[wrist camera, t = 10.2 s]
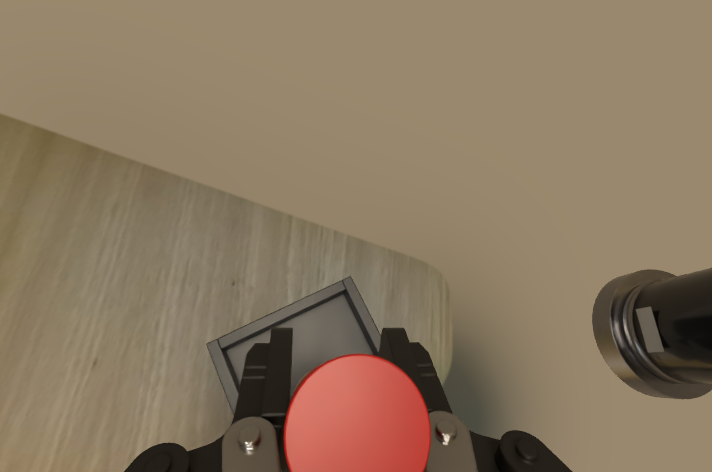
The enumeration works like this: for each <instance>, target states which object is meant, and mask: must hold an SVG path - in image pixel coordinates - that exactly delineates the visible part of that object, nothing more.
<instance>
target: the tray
mask: <svg viewBox="0 0 712 472" xmlns="http://www.w3.org/2000/svg"><path fill="white" fill-rule="evenodd" d="M272 328H293V341H292V375H291V395H290V400H291V398H292V395H293V393H294V391H295V388H296V386H297V384H298V382H299V381H300V379H301V378H302V377H303V376H304V375H305V374H306V373H308V372H309V371H311V370H312V369H314V368H315V367H317V366H318V365H320V364H322V363H324V362H326V361H328V360H331V359H333V358H336V357H339V356H343V355H348V354H369V355H374V356H378V354H379V347H380V341H381V335H380V333H379V331H378V329H377V327H376V325H375V323H374V321H373V319H372V317H371V315H370V313H369V311H368V309H367V307H366V305H365V303H364V301H363V299H362V297H361V295H360V293H359V291H358V289H357V287H356V285H355V284H354V282H353V280H352V278H351V276H350V277H348V278H345V279H343V280H342V281H339V282H337V283H335V284H333V285H331V286H328V287H326V288H324V289H322V290H320V291H318V292H316V293H314V294H311V295H309V296H307V297H305V298H303V299H301V300H299V301H297V302H294V303H292V304H290V305H288V306H286V307H284V308H282V309H280V310H277V311H275V312H273V313H271V314H269V315H267V316H265V317H263V318H260V319H258V320H256V321H254V322H252V323H250V324H248V325H245V326H243V327H241V328H239V329H237V330H235V331H233V332H231V333H228V334H226V335H224V336H222V337H220V338H218V339H216V340H214V341H211V342H209V343H207V344H206V345H207V347H208V350H209V353H210V355H211V358H212V360H213V363H214V365H215V368H216V371H217V373H218V376H219V378H220V381H221V384H222V386H223V389H224V391H225V394H226V396H227V399H228V402H229V404H230V407H231V409H232V412H233V415H234V414H235V409H236V404H237V399H238V394H239V389H240V384H241V380H242V374H243V369H244V364H245V359H246V354H247V353H248V352H249V350H250V349H251V348H252V346H253V345H254V344H255V343H270V336H271V329H272ZM281 472H290V471H289V468H288V465H287V471H281Z"/></svg>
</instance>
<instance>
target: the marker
mask: <svg viewBox="0 0 712 472" xmlns="http://www.w3.org/2000/svg"><path fill="white" fill-rule="evenodd" d="M283 441H284V452H285V457H286V462H287V465H288V468H289V471H290V472H424V469H425V467H426V464H427V460H428V457H429V452H430V445H431V426H430V419H429V414H428V410H427V407H426V404H425V401H424V399H423V397H422V395H421V393H420V391H419V389H418V388H417V386H416V385H415V383H414V382H413V381H412V379H411V378H410V377H409V376H408V375H407V374H406V373H405V372H404V371H403V370H402V369H400V368H399V367H398V366H396V365H395V364H393V363H391V362H390V361H388V360H386V359H383V358H381V357H378V356H374V355H369V354H348V355H343V356H339V357H336V358H333V359H331V360H328V361H326V362H324V363H322V364H320V365H318V366H317V367H315V368H314V369H312V370H311V371H309V372H308V373H306V374H305V375H304V376H303V377H302V378H301V379H300V381H299V382H298V384H297V386H296V388H295V391H294V393H293V395H292V398H291V400H290V403H289V406H288V410H287V414H286V419H285V425H284V437H283Z"/></svg>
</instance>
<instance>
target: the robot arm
mask: <svg viewBox="0 0 712 472" xmlns="http://www.w3.org/2000/svg"><path fill="white" fill-rule="evenodd" d="M623 326H624V331H625V335H626V338H627V340H628V343H629V345H630V347H631V349H632V351H633V352H634V354H635V355H636V357H637V358H638V359H639V361H640V362H641V363H642V364H643V365H644V366H645V367H646V368H647V369H648V370H649V371H651V372H652V373H653V374H655V375H656V376H658V377H660V378H662V379H663V380H666V381H669V382H672V383H677V384H701V383H703V384H712V268H710V269H706V270H702V271H697V272H694V273H690V274H685V275H681V276H677V277H673V278H669V279H665V280H656V281H652V282H648V283H645V284H642V285H640V286H638V287H637V288H635V289H634V290H633V291H632V292H631V293H630V295H629V296H628V298H627V300H626V302H625V305H624V310H623ZM292 341H293V328H272V329H271V336H270V343H255V344H254V345H253V346H252V348H251V349H250V350H249V352H248V353H247V354H246V359H245V364H244V369H243V374H242V380H241V384H240V389H239V394H238V399H237V404H236V409H235V414H234V418H233V422H232V424H231V426H230V427H229V428H228V430H227V431H226V432H225V434H224V435H223V436H222V437H220V438H219V439H218V440H216V441H215V442H213V443H211V444H208V445H206V446H203V447H200V448H197V449H194V450H191V451H188V452H187V451H186V449H185V448H184V447H182V446H181V445H179V444H175V443H162V444H158V445H155V446H153V447H151V448H148V449H147V450H145V451H144V452H142V453H141V454H140V455H139V456H138V457H137V458H136V459H135V460H134V461H133V462H132V463H131V464H130V465H129V467H128V468H127V469H126V470H125V471H124V472H281V471H287V462H286V457H285V452H284V441H283V437H284V425H285V419H286V414H287V410H288V406H289V403H290V395H291V375H292ZM378 357H381V358H383V359H386V360H388V361H390V362H391V363H393V364H395V365H396V366H398V367H399V368H400V369H402V370H403V371H404V372H405V373H406V374H407V375H408V376H409V377H410V378H411V379H412V381H413V382H414V383H415V385H416V386H417V388H418V389H419V391H420V393H421V395H422V397H423V399H424V401H425V404H426V407H427V410H428V414H429V419H430V426H431V445H430V452H429V457H428V460H427V464H426V467H425V469H424V472H572V471H571V470H570V469H569V468H568V467H567V466H566V465H565V464H564V463H563V462H562V461H561V460H560V459H559V458H558V457H557V456H556V455H554V454H553V453H552V452H551V451H550V450H549V449H548V448H547V447H546V446H545V445H544V444H543V443H542V442H541V441H540V440H539V439H537V438H536V437H534V436H532V435H530V434H528V433H526V432H523V431H517V430H515V431H514V430H513V431H509V432H506V433H505V434H504V435H503V436H502V437H501V440H497V439H493V438H490V437H486V436H482V435H479V434H476V433H474V432H471V431H470V430H468V428H467V426H466V425H465V423H464V422H463V421H462V420H461V419H459V418H458V417H457V416H455V415H453V413H452V411H451V408H450V406H449V404H448V401H447V398H446V396H445V394H444V391H443V388H442V386H441V383H440V381H439V378H438V376H437V373H436V370H435V368H434V367H433V363H432V360H431V358H430V355H429V353H428V352H427V351H426V350H425V349H424V347H423V346H422V345H421V344H420V343H419V342H412V343H409V340H408V337H407V334H406V331H405V329H404V328H383V330H382V334H381V341H380V347H379V354H378Z"/></svg>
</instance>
